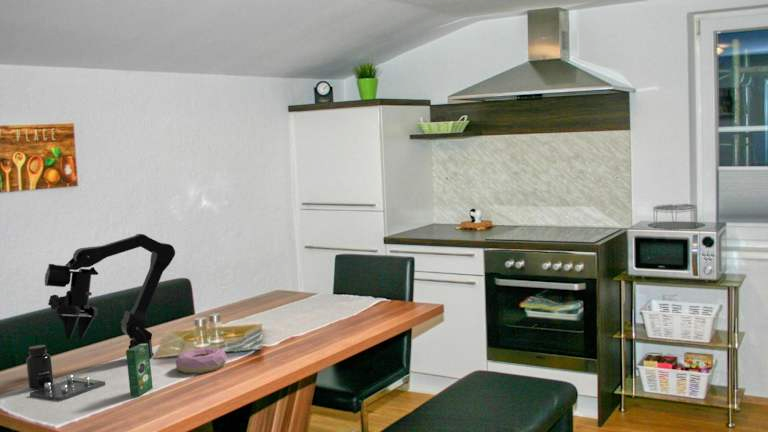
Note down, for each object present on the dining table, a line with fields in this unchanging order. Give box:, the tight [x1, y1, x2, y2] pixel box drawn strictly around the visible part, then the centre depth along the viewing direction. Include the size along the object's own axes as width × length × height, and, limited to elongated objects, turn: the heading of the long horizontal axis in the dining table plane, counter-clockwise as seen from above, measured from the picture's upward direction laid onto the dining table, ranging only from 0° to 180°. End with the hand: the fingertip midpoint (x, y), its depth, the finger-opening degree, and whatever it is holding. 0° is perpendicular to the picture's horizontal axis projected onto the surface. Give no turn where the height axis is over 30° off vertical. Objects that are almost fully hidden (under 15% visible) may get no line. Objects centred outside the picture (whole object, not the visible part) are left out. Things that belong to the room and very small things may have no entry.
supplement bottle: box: [25, 344, 54, 390], centre depth 237 cm, size 7×7×12 cm
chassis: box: [29, 374, 106, 402], centre depth 230 cm, size 15×14×3 cm
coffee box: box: [125, 344, 154, 398], centre depth 222 cm, size 8×3×13 cm, turn 168°
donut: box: [175, 347, 228, 374], centre depth 243 cm, size 16×15×5 cm
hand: (74, 338), depth 248 cm, fingers open, 9 cm apart
